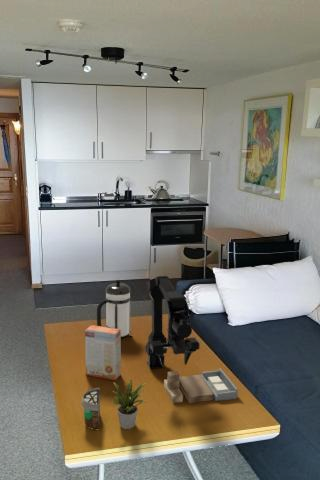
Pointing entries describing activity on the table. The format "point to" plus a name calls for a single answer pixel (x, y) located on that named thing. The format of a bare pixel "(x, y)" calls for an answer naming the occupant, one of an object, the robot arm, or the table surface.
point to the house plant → (128, 405)
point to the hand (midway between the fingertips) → (174, 365)
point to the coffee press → (116, 307)
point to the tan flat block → (195, 389)
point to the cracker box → (103, 352)
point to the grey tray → (225, 380)
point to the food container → (91, 407)
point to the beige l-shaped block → (173, 387)
